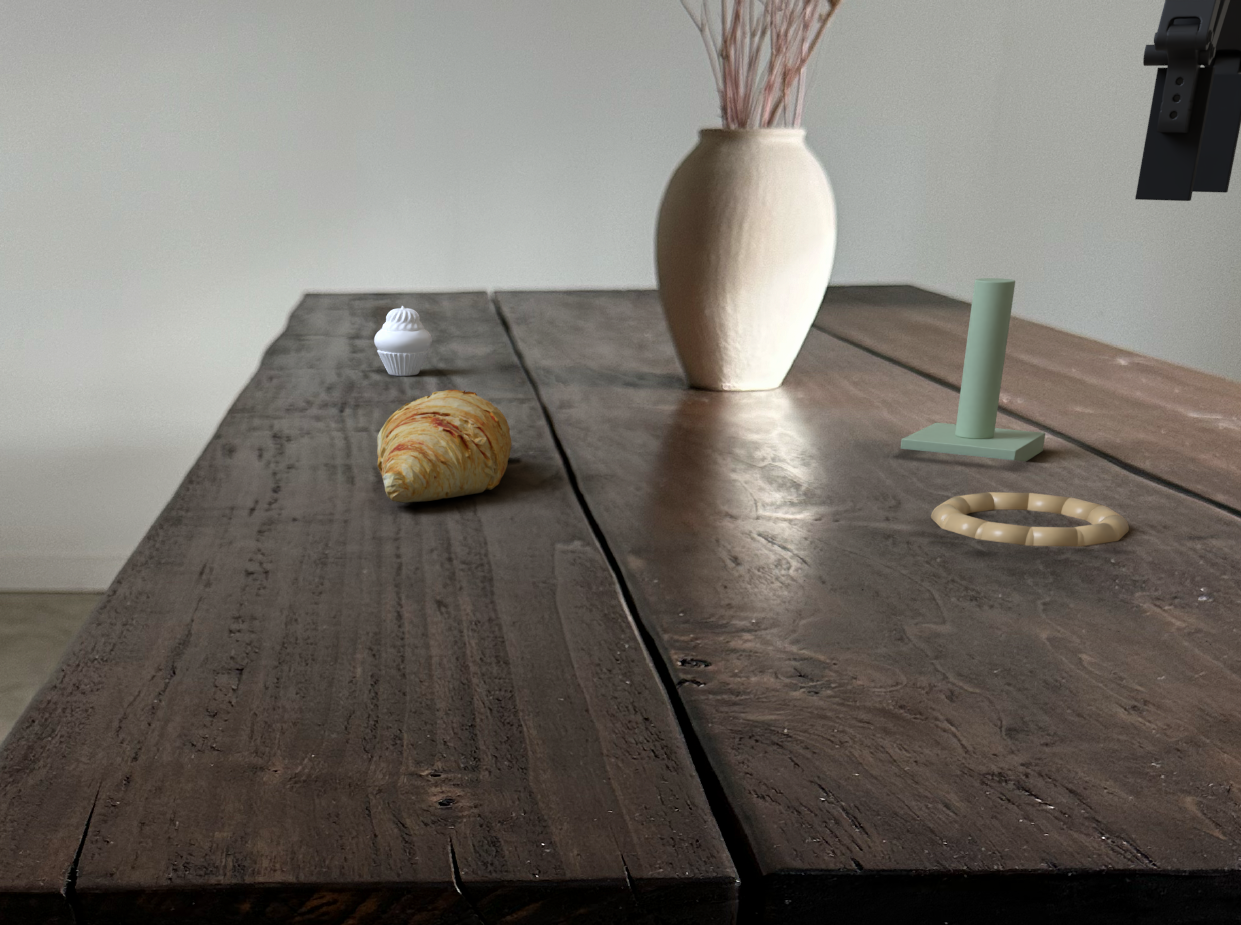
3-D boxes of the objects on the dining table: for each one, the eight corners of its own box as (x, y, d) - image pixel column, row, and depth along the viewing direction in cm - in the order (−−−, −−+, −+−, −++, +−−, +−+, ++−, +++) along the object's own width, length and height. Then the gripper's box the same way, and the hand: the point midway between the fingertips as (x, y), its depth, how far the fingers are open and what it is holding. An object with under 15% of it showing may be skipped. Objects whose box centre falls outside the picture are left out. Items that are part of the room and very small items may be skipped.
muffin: (431, 378, 168) (431, 308, 166) (373, 378, 168) (372, 308, 166) (432, 369, 174) (432, 302, 171) (376, 369, 174) (375, 302, 171)
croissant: (435, 564, 111) (487, 466, 107) (313, 489, 112) (361, 388, 108) (515, 495, 129) (563, 409, 125) (411, 431, 130) (455, 343, 126)
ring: (1140, 530, 106) (1145, 503, 105) (1100, 569, 97) (1105, 539, 96) (961, 508, 112) (965, 483, 111) (907, 543, 103) (911, 515, 102)
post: (1043, 451, 131) (1069, 278, 125) (1013, 469, 124) (1039, 287, 119) (933, 440, 135) (954, 272, 130) (899, 457, 129) (919, 281, 123)
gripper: (1221, -197, 95) (1153, 187, 103) (1142, -279, 75) (1067, 201, 84) (1364, -209, 91) (1281, 190, 100) (1320, -299, 72) (1222, 206, 80)
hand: (1183, 196), depth 92 cm, fingers open, 13 cm apart
